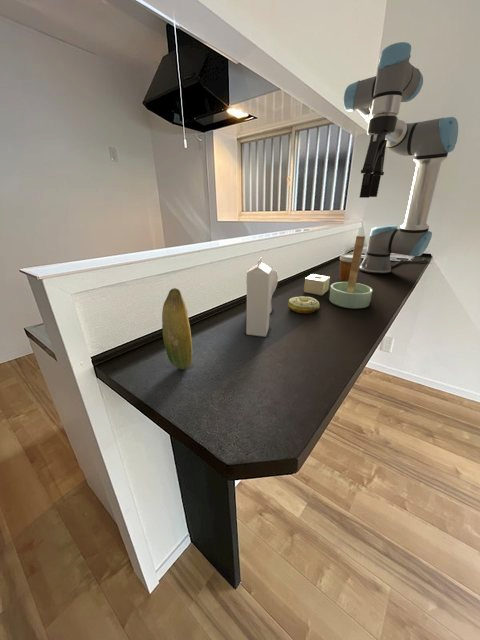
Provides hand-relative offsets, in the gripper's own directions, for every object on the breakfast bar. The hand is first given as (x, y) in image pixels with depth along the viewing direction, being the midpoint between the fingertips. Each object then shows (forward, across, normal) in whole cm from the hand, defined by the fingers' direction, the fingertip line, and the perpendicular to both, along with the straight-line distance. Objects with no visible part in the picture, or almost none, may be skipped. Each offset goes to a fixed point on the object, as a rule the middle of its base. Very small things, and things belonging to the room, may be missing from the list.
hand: (368, 197), depth 86 cm
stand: (+37, -5, -15) cm, 40 cm away
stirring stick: (+36, +1, 0) cm, 36 cm away
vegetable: (+36, +68, -22) cm, 81 cm away
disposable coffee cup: (+37, -28, -8) cm, 47 cm away
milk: (+37, +41, -17) cm, 58 cm away
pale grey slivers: (+37, +27, -24) cm, 52 cm away
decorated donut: (+37, +17, -12) cm, 42 cm away
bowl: (+37, +1, 0) cm, 37 cm away
